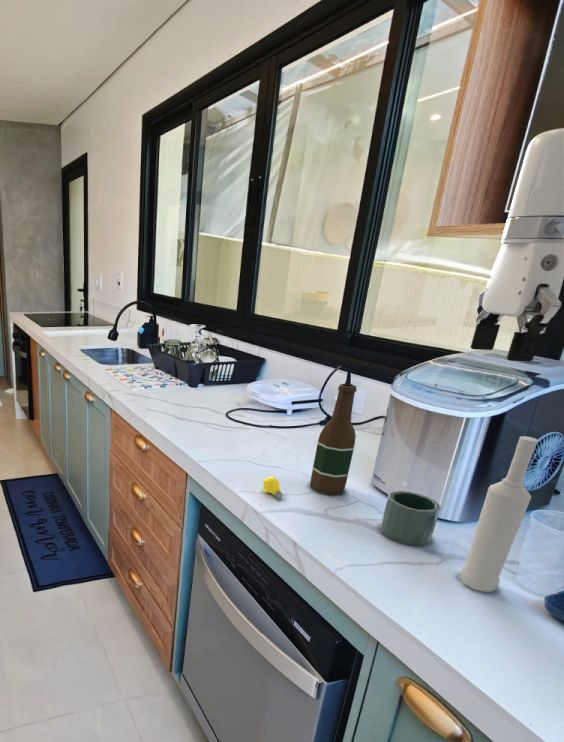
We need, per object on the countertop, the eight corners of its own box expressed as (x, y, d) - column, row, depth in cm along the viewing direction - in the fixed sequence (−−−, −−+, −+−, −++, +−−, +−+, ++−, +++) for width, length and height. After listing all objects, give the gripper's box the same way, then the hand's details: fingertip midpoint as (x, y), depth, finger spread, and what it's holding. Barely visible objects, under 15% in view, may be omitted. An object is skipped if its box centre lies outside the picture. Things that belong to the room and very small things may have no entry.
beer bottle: (302, 486, 115) (320, 383, 106) (320, 478, 119) (340, 379, 111) (333, 499, 109) (356, 391, 100) (352, 490, 114) (375, 386, 105)
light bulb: (268, 486, 114) (277, 474, 112) (282, 504, 110) (291, 492, 108) (257, 484, 113) (266, 472, 111) (270, 502, 108) (279, 490, 106)
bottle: (460, 570, 85) (508, 430, 76) (497, 582, 82) (551, 438, 73) (456, 583, 81) (505, 438, 72) (495, 597, 78) (551, 447, 69)
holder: (417, 524, 100) (426, 492, 97) (438, 547, 92) (449, 513, 89) (373, 521, 100) (381, 489, 98) (391, 543, 93) (400, 510, 90)
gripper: (614, 230, 62) (565, 367, 69) (525, 235, 78) (492, 346, 85) (548, 229, 63) (506, 364, 69) (474, 234, 79) (445, 344, 85)
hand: (499, 354), depth 77 cm, fingers open, 9 cm apart
